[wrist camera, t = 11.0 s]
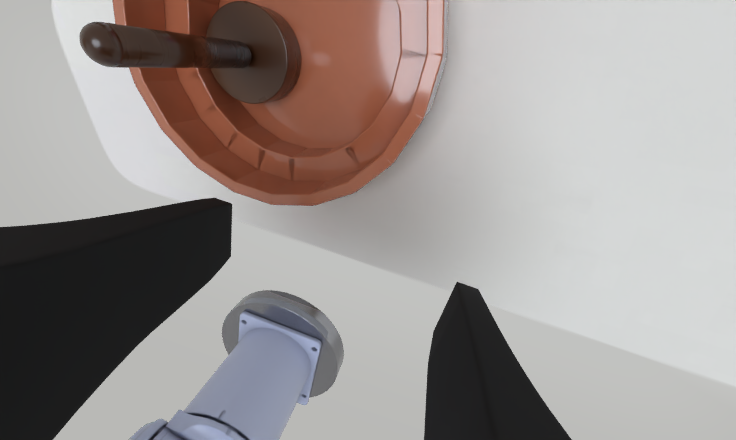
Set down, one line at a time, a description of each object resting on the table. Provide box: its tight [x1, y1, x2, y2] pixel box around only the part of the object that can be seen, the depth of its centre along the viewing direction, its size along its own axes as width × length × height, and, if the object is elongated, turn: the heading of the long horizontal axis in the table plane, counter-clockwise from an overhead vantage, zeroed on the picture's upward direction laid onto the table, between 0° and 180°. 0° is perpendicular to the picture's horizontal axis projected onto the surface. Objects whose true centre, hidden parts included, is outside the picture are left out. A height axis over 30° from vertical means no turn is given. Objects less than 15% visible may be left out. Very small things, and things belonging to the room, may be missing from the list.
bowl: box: [113, 0, 448, 206], centre depth 15 cm, size 14×14×5 cm
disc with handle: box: [80, 1, 301, 104], centre depth 13 cm, size 5×5×9 cm
